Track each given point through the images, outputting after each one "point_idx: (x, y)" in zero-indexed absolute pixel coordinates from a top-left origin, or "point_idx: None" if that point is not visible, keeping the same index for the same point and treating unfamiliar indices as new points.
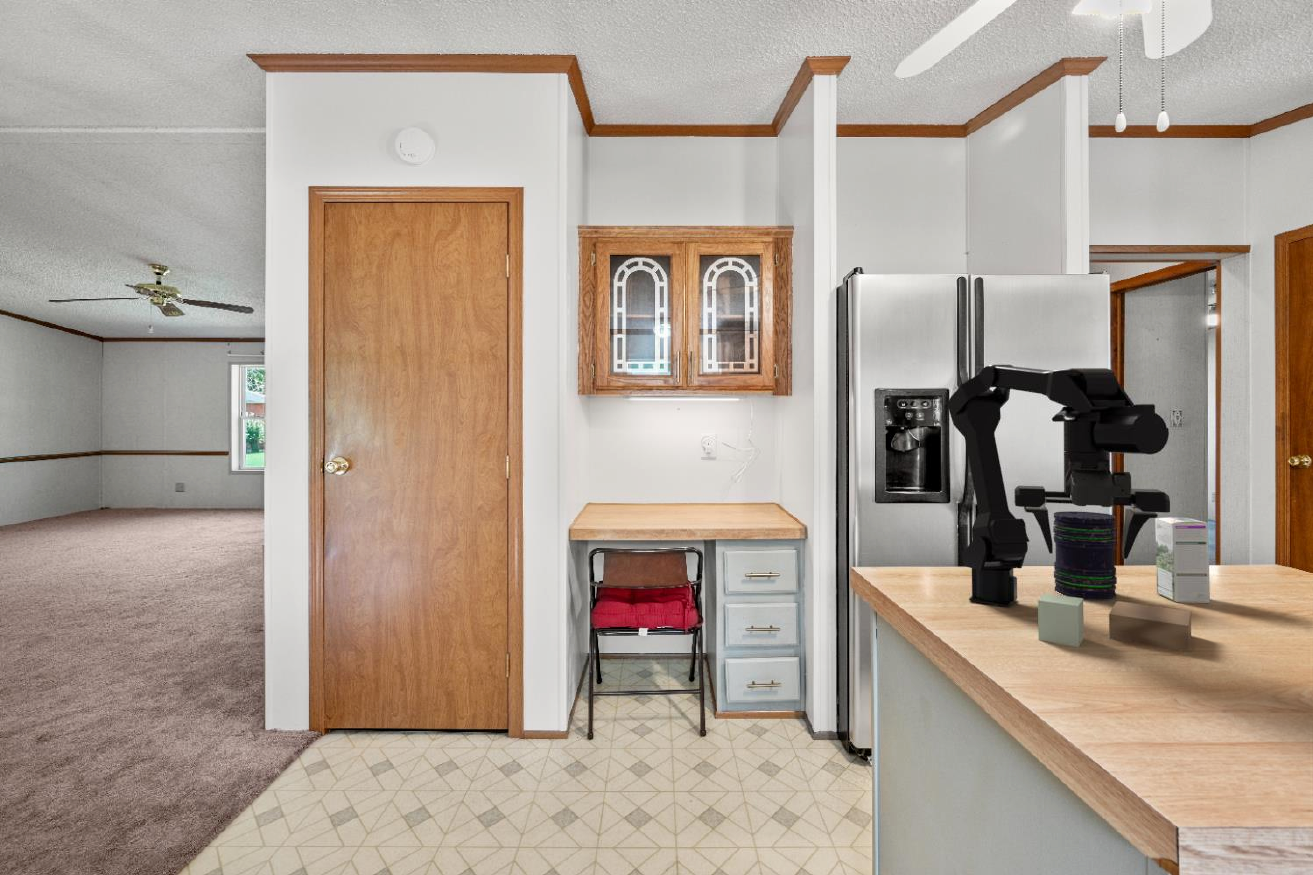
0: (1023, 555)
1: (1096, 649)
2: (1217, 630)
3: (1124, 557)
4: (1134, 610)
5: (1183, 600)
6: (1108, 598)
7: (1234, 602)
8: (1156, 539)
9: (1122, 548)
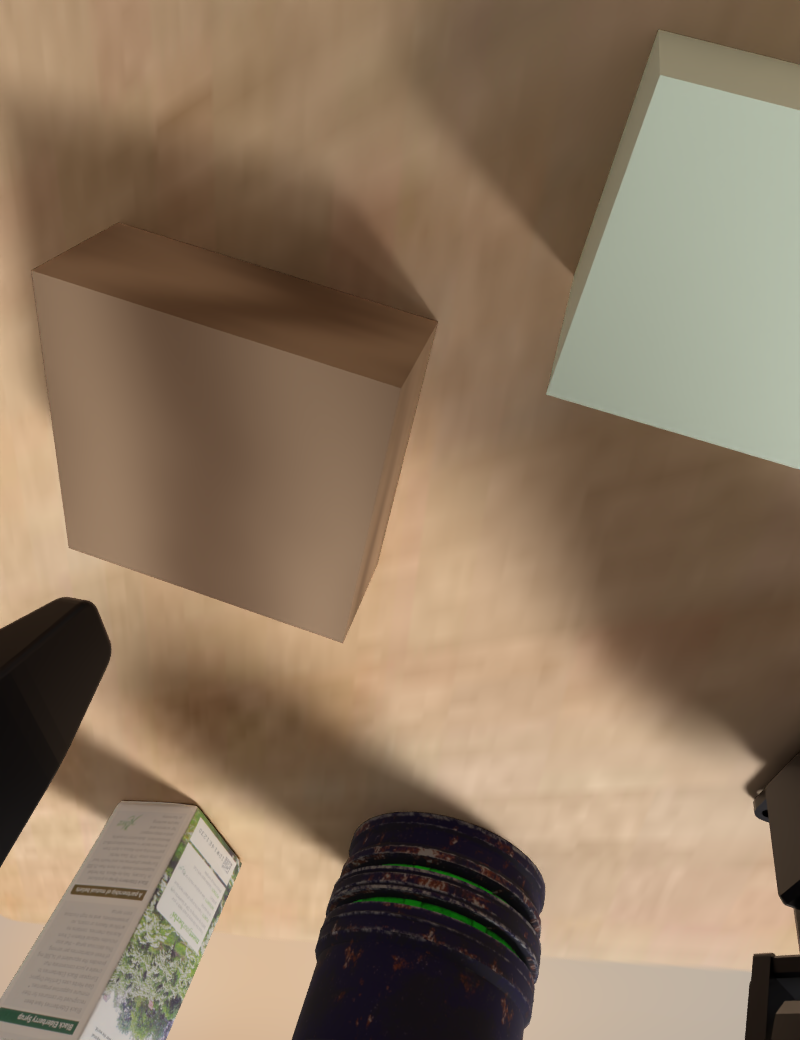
0: (779, 1024)
1: (549, 25)
2: (71, 564)
3: (79, 605)
4: (273, 500)
5: (174, 809)
6: (377, 821)
7: (73, 810)
8: None
9: (58, 734)
